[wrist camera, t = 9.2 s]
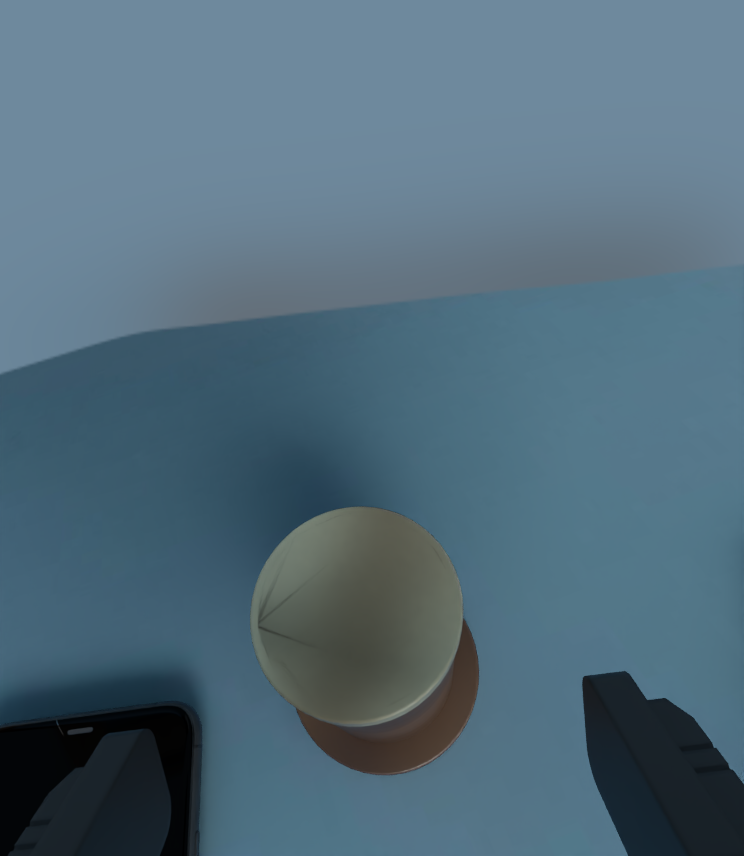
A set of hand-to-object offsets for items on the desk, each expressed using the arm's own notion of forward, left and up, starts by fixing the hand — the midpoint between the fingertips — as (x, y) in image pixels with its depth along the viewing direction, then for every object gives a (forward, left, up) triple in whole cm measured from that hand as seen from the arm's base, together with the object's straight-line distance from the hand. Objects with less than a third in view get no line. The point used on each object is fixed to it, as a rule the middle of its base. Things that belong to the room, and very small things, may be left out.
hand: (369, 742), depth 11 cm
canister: (-1, +3, -8) cm, 8 cm away
